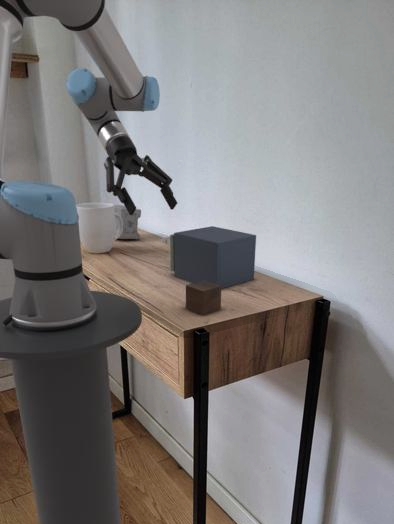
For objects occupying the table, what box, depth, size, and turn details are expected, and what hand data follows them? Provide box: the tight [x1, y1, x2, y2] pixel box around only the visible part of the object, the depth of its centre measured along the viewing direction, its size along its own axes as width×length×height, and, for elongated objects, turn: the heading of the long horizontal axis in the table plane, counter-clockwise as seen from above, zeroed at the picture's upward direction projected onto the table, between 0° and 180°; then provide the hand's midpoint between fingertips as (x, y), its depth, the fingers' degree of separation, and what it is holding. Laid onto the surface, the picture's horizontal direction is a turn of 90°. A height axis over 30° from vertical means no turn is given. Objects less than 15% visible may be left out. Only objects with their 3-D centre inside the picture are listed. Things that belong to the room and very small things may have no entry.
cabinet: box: [173, 225, 257, 290], centre depth 115 cm, size 15×13×11 cm
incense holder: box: [114, 204, 142, 240], centre depth 156 cm, size 10×8×10 cm
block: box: [185, 280, 222, 316], centre depth 96 cm, size 5×5×5 cm
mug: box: [76, 202, 123, 255], centre depth 140 cm, size 15×11×13 cm
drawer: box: [161, 233, 175, 272], centre depth 118 cm, size 19×11×9 cm, turn 42°
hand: (154, 209), depth 126 cm, fingers open, 13 cm apart
